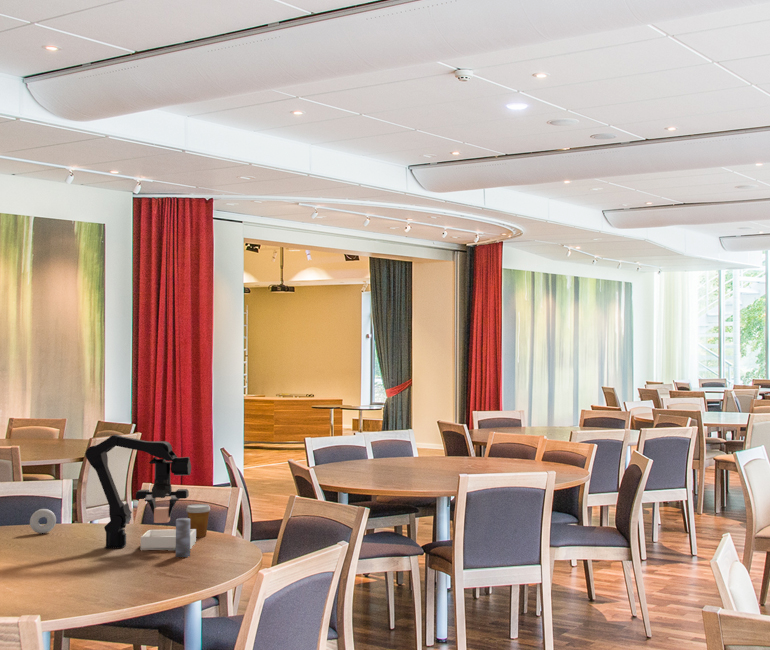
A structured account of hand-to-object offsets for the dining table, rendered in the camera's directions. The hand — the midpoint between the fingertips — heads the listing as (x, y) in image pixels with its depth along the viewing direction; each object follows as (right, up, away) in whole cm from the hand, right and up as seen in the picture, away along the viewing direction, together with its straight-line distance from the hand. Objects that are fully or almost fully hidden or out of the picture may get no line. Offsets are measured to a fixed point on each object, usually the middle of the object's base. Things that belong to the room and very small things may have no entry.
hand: (162, 517), depth 317 cm
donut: (-55, -13, +26) cm, 62 cm away
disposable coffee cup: (+9, -12, +19) cm, 25 cm away
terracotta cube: (0, -2, 0) cm, 2 cm away
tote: (+3, -11, 0) cm, 11 cm away
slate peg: (+12, -10, -17) cm, 23 cm away
